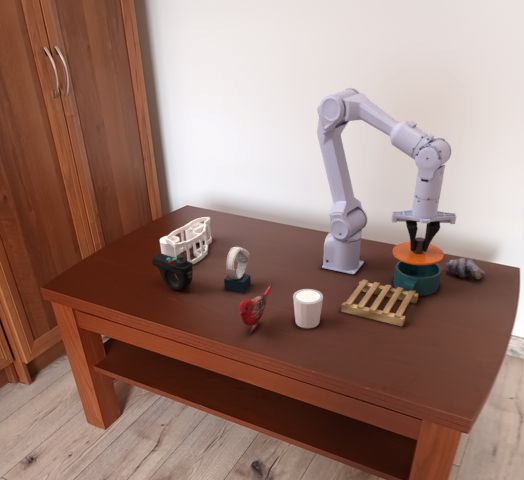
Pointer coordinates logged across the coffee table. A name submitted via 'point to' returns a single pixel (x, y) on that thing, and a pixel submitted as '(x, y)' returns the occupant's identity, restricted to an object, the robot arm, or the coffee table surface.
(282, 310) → the coffee table surface
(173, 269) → the controller
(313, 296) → the white cup
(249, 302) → the decorative bird figurine
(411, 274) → the pot
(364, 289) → the rack
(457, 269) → the seashell
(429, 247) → the lid
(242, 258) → the watch
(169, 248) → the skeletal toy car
